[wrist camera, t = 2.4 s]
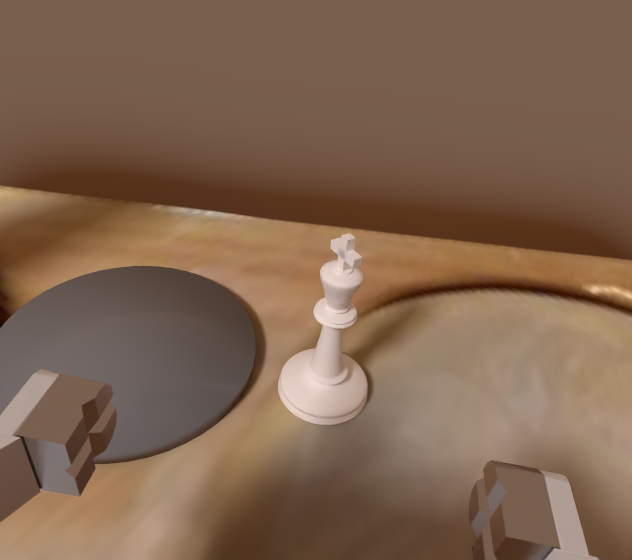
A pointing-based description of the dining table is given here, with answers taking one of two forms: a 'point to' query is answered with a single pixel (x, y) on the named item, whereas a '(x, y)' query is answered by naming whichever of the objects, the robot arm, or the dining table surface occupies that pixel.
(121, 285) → the charcoal plate
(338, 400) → the chess piece
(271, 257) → the dining table surface
